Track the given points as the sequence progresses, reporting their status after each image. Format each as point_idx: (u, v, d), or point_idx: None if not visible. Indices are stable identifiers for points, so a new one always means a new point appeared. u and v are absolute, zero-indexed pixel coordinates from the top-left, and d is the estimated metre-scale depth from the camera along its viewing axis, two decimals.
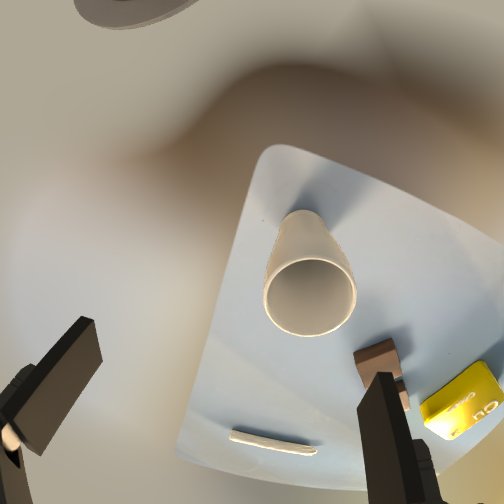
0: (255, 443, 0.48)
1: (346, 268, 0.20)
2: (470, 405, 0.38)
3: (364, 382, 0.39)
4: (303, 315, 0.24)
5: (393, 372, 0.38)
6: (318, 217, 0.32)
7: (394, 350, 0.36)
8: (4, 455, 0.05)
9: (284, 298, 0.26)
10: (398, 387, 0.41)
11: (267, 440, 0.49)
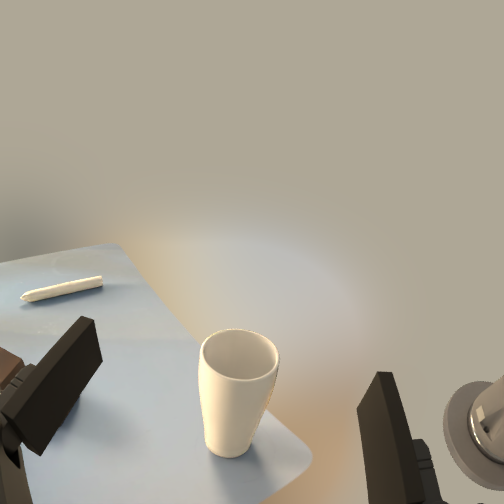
0: (79, 282, 0.52)
1: (249, 383, 0.21)
2: None
3: None
4: (211, 356, 0.27)
5: None
6: (237, 451, 0.27)
7: None
8: (4, 455, 0.05)
9: (225, 363, 0.28)
10: (6, 385, 0.27)
11: (70, 290, 0.51)
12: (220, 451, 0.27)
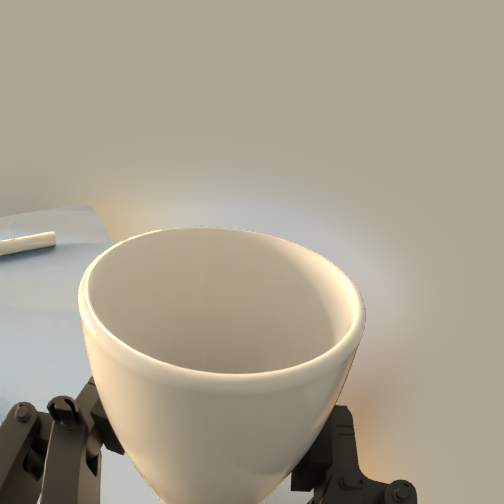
0: (25, 238, 0.35)
1: (258, 392, 0.04)
2: None
3: None
4: (147, 308, 0.09)
5: None
6: None
7: None
8: (85, 465, 0.06)
9: (192, 335, 0.11)
10: None
11: (14, 248, 0.34)
12: None
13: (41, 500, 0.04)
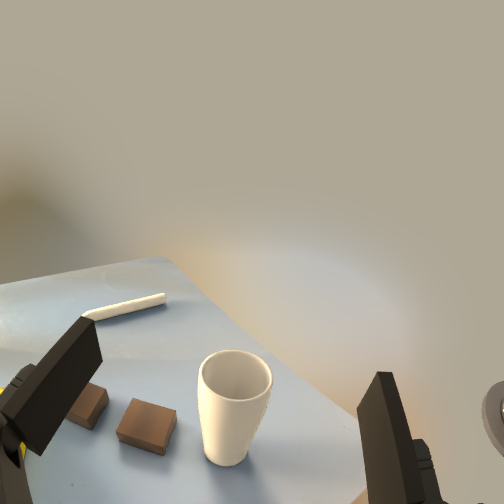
0: (142, 300, 0.55)
1: (243, 403, 0.23)
2: None
3: (143, 402, 0.34)
4: (209, 375, 0.28)
5: (129, 427, 0.29)
6: (233, 461, 0.28)
7: (161, 444, 0.28)
8: (4, 455, 0.05)
9: (222, 380, 0.30)
10: (92, 419, 0.30)
11: (134, 308, 0.54)
12: (217, 460, 0.28)
13: None
